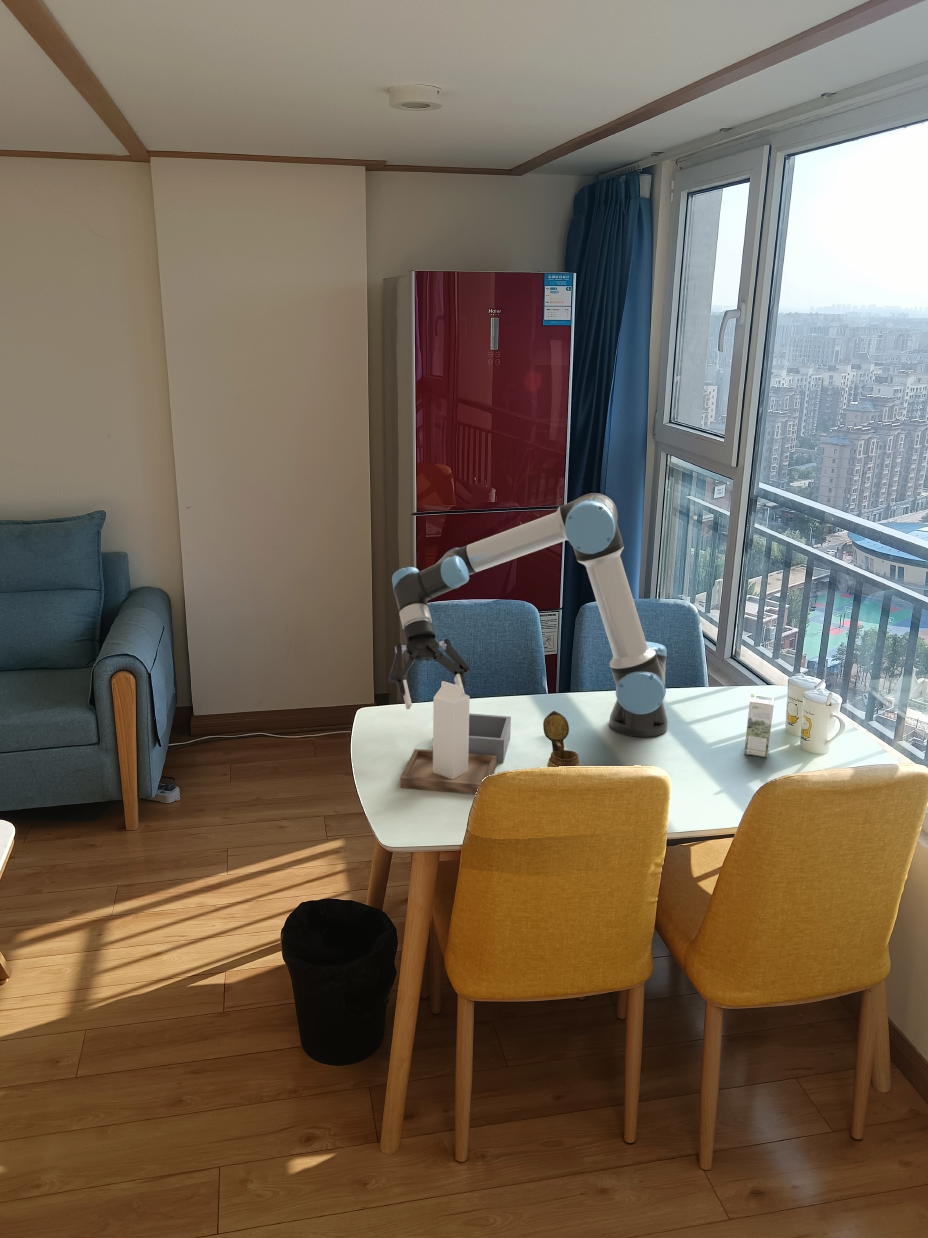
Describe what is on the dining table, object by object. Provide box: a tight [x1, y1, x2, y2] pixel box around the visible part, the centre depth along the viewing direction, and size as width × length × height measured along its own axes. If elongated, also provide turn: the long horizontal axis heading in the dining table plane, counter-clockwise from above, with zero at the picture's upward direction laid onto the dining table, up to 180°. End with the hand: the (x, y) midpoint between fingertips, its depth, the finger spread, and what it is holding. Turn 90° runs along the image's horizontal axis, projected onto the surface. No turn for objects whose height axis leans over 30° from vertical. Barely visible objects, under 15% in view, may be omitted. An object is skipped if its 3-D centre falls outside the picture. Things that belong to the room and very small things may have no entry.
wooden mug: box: [542, 710, 581, 768], centre depth 217 cm, size 9×14×18 cm, turn 13°
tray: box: [399, 748, 497, 795], centre depth 228 cm, size 20×16×2 cm
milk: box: [432, 680, 470, 780], centre depth 225 cm, size 6×6×22 cm
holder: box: [468, 712, 512, 764], centre depth 243 cm, size 15×15×6 cm
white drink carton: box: [743, 693, 775, 758], centre depth 242 cm, size 6×6×14 cm
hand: (436, 703), depth 234 cm, fingers open, 13 cm apart
